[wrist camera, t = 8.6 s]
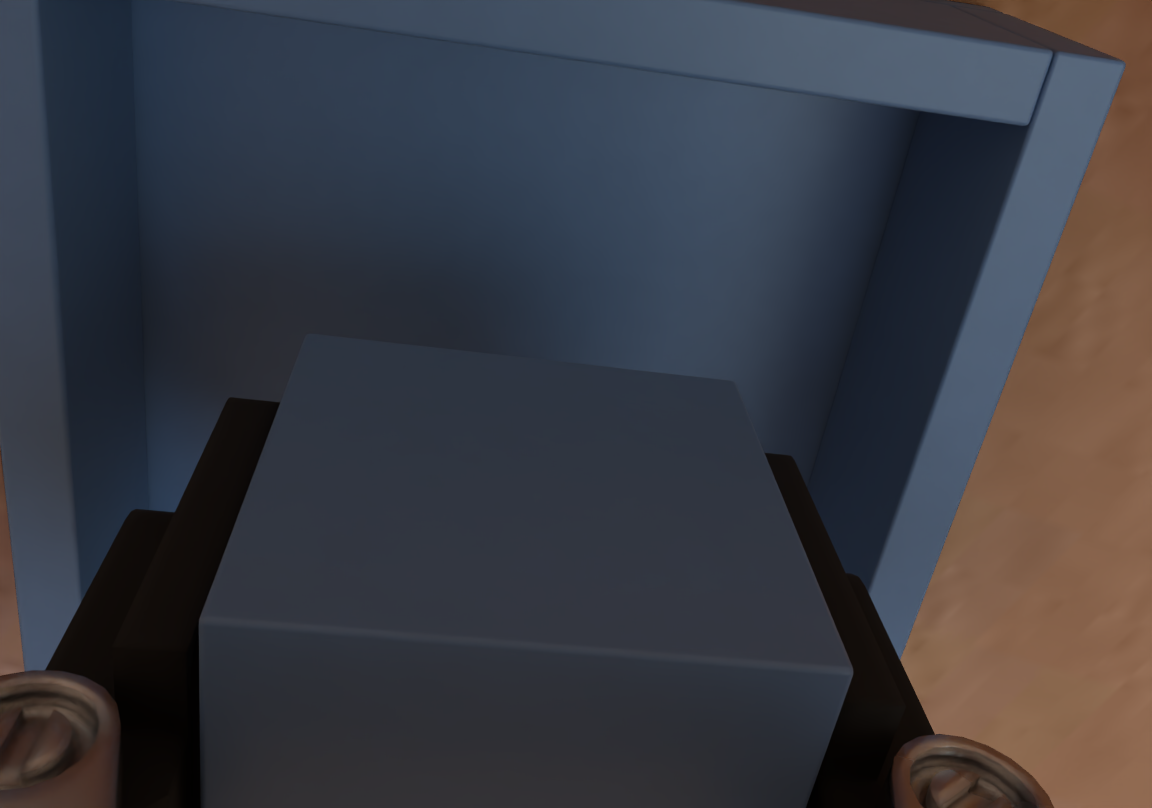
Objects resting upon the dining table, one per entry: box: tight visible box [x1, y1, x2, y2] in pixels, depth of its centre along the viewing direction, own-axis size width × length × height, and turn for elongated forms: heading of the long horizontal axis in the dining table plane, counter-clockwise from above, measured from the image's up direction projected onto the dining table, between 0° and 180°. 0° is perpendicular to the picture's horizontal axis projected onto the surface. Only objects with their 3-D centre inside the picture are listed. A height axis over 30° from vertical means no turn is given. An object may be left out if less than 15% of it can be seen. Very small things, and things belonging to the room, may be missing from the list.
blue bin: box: [0, 0, 1125, 671], centre depth 15 cm, size 12×12×4 cm
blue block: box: [199, 334, 853, 808], centre depth 10 cm, size 4×4×4 cm
